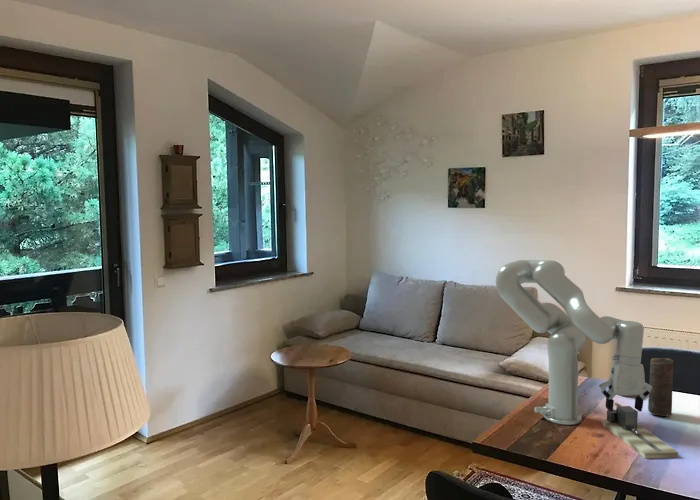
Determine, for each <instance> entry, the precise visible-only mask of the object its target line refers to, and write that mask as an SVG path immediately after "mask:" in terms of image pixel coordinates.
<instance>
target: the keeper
mask: <svg viewBox="0 0 700 500" xmlns="http://www.w3.org/2000/svg"><path fill="white" fill-rule="evenodd" d="M614 405H615V408H616V409H613V411H612V412H611V411H609V410H608V409H606V419H607V421H609V422H610V423H617V414H618V406H622V404H619V403H618V402H614Z"/></svg>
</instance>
